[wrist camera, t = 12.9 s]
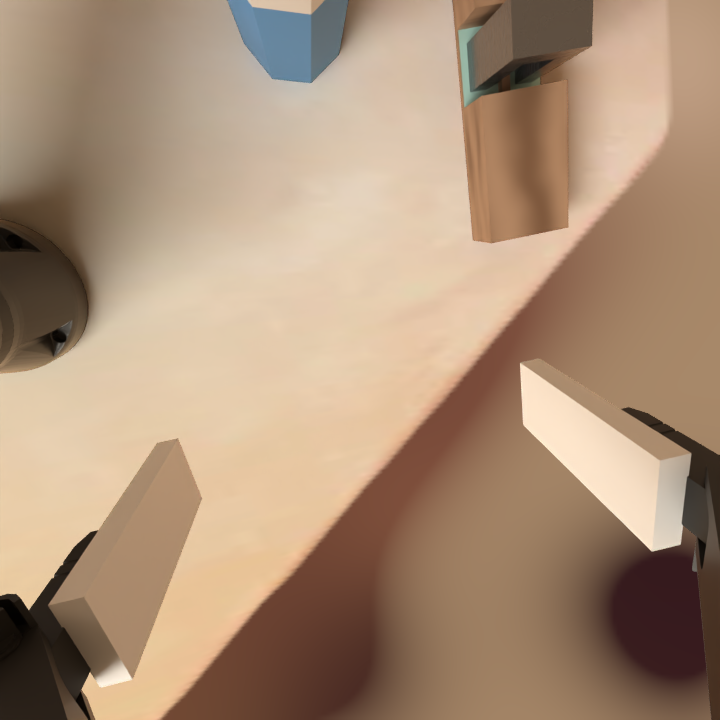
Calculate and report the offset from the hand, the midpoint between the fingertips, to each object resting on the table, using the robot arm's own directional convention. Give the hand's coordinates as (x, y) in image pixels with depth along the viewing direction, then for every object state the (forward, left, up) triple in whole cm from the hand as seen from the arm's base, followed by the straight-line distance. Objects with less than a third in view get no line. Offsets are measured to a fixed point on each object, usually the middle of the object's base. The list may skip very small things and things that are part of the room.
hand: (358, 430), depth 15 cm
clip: (+21, +18, -31) cm, 42 cm away
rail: (+21, +16, -32) cm, 41 cm away
